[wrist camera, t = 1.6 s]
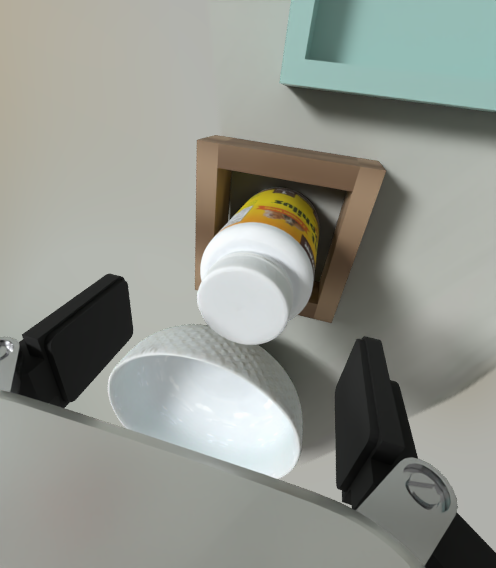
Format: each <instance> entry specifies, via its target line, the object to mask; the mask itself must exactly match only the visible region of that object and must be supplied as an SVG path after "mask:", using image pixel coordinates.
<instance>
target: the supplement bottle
mask: <svg viewBox="0 0 496 568" xmlns="http://www.w3.org/2000/svg"><path fill="white" fill-rule="evenodd" d="M319 230H320V228H319V219H318V215H317V213H316V211H315V209H314V207H313V205H312V204H311V203H310V202H309V200H308V199H307V198H305V197H304V196H303V195H301V194H300V193H298V192H296V191H294V190H291V189H288V188H282V187H274V188H269V189H265V190H263V191H260V192H259V193H257V194H255V195H254V196H252V197H251V198H250V199H249V200H248V201H247V202H246V203H245V204H244V206H243V207H242V208H241V209H240V210H239V211H238V212H237V213H236V214H235V215H234V216H233V217H232V218H231V219H230V220H229V222H228V223H227V224H226V225H225V226H224V227H223V228H222V229H221V230H220V231H219V232H218V233H217V234H216V235H215V237H214V238H213V239H212V240H211V241H210V243H209V244H208V246H207V247H206V249H205V251H204V253H203V256H202V260H201V266H200V275H201V281H202V282H201V284H200V286H199V289H198V293H197V304H198V308H199V310H200V313H201V315H202V317H203V319H204V320H205V322H206V323H207V324H208V326H209V327H210V328H211V329H212V330H214V331H215V332H216V333H217V334H219V335H220V336H222V337H224V338H226V339H227V340H230V341H233V342H236V343H240V344H246V345H257V344H263V343H267V342H269V341H271V340H273V339H275V338H276V337H277V336H279V335H280V334H281V333H282V331H283V330H284V329H285V327H286V325H287V323H288V321H289V320H291V319H293V318H294V317H295V316H297V315H298V314H299V313H300V312H301V311H302V310H303V309H304V307H305V306H306V304H307V302H308V301H309V298H310V296H311V293H312V288H313V283H314V274H315V265H316V257H317V249H318V240H319Z"/></svg>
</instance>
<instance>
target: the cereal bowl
mask: <svg viewBox="0 0 496 568" xmlns="http://www.w3.org/2000/svg"><path fill="white" fill-rule="evenodd" d="M108 395H109V399H110V403H111V406H112V408H113V410H114V412H115V414H116V416H117V417H118V419H119V420H120V422H121V423H122V425H123V426H124V427H125V428H126V429H129V430H132V431H135V432H138V433H142V434H145V435H148V436H151V437H154V438H157V439H160V440H163V441H166V442H169V443H172V444H175V445H178V446H181V447H184V448H187V449H190V450H193V451H196V452H199V453H202V454H205V455H208V456H211V457H214V458H217V459H220V460H223V461H226V462H229V463H232V464H235V465H238V466H241V467H244V468H247V469H250V470H253V471H256V472H259V473H262V474H265V475H268V476H270V477H273V478H276V479H280V478H282V477H284V476H285V475H287V474H288V473H289V472H290V471H291V470H292V469H293V468H294V467H295V466H296V464H297V462H298V460H299V457H300V454H301V451H302V448H301V446H302V435H303V429H302V426H303V420H302V411H301V405H300V402H299V397H298V395H297V392H296V389H295V387H294V385H293V382H292V381H291V380H290V378H289V376H288V374H287V373H286V372H285V370H284V369H283V367H282V366H280V364H279V363H278V362H277V361H276V360H275V359H274V358H273V357H272V356H271V355H270V354H269V353H268V352H267V351H266V350H264V349H263V348H262V347H260V346H259V345H258V344H257V345H246V344H240V343H236V342H233V341H230V340H227V339H226V338H224V337H222V336H220V335H219V334H217V333H216V332H215V331H214V330H212V329H211V328H210V327H209V326H208V325H201V324H196V325H195V324H192V325H191V324H189V325H181V326H175V327H170V328H167V329H165V330H161V331H159V332H156V333H154V334H152V335H150V336H148V337H147V338H146V339H144V340H142V341H141V342H140V343H139V344H137V345H136V346H135V347H134V348H133V349H131V350H130V351H129V352H128V353H127V354H126V355H125V356H124V357H123V358H122V360H121V361H120V362H119V363H118V364H117V365H116V366H115V368H114V369H113V370H112V372H111V374H110V377H109V380H108Z"/></svg>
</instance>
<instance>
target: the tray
mask: <svg viewBox="0 0 496 568" xmlns="http://www.w3.org/2000/svg"><path fill="white" fill-rule="evenodd" d="M280 83H281V84H283V85H286V86H292V87H300V88H308V89H315V90H323V91H331V92H339V93H347V94H355V95H362V96H370V97H378V98H386V99H394V100H401V101H409V102H417V103H425V104H433V105H440V106H448V107H456V108H464V109H472V110H480V111H487V112H495V113H496V0H291V5H290V12H289V19H288V26H287V33H286V41H285V48H284V55H283V62H282V69H281V76H280Z"/></svg>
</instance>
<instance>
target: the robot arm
mask: <svg viewBox="0 0 496 568" xmlns="http://www.w3.org/2000/svg"><path fill="white" fill-rule="evenodd" d="M132 334H133V325H132V316H131V308H130V300H129V291H128V284H127V282H126V281H125V280H124V278H123V277H121V276H117V275H113V274H107V275H105V276H104V277H102V278H101V279H100V280H98V281H97V282H95V283H94V284H92V285H91V286H90V287H88V288H87V289H85V290H84V291H83V292H81V293H80V294H78V295H77V296H76V297H74V298H73V299H71V300H70V301H69V302H67V303H66V304H65V305H63V306H62V307H60V308H59V309H57V310H56V311H55V312H53V313H52V314H50V315H49V316H48V317H46V318H45V319H43V320H42V321H41V322H39V323H38V324H36V325H35V326H34V327H32V328H31V329H30V330H28V331H27V332H25V333H24V334H22V336H23V340H22V341H20V342H18V341H17V340H16V339H14V338H11V337H0V568H496V553H495V552H494V551H493V550H492V549H491V548H490V547H489V545H487V543H486V542H485V541H484V540H483V539H482V538H481V537H480V536H479V535H478V534H477V533H476V532H475V531H474V530H473V529H472V528H471V527H470V526H469V525H468V524H467V523H466V521H465V520H464V519H463V518H462V517H461V516H460V515H459V514H458V513H457V508H458V506H457V498H456V495H455V493H454V490H453V488H452V487H451V485H450V484H449V482H448V480H447V479H446V478H445V477H444V476H443V475H442V474H441V473H440V472H439V470H437V469H436V468H435V467H433V466H432V465H431V464H429V463H427V462H425V461H423V460H421V459H418V457H417V453H416V449H415V445H414V441H413V437H412V433H411V429H410V426H409V422H408V418H407V414H406V410H405V406H404V402H403V398H402V394H401V390H400V387H399V384H398V383H397V382H395V381H391V380H390V378H389V374H388V369H387V365H386V360H385V356H384V351H383V347H382V343H381V341H380V340H378V339H374V338H369V337H365V336H364V337H363V338H362V340H361V339H357V340H356V342H355V344H354V346H353V349H352V351H351V353H350V356H349V358H348V360H347V363H346V365H345V367H344V370H343V372H342V374H341V377H340V379H339V381H338V384H337V386H336V390H335V433H336V484H337V488H338V489H340V490H342V502H344V503H347V504H350V505H352V508H349V507H348V506H346V505H344V504H342V503H340V502H337V501H335V500H332V499H330V498H328V497H325V496H322V495H320V494H318V493H315V492H313V491H310V490H307V489H304V488H301V487H299V486H296V485H293V484H290V483H287V482H285V481H282V480H279V479H276V478H273V477H270V476H268V475H265V474H262V473H259V472H256V471H253V470H250V469H247V468H244V467H241V466H238V465H235V464H232V463H229V462H226V461H223V460H220V459H217V458H214V457H211V456H208V455H205V454H202V453H199V452H196V451H193V450H190V449H187V448H184V447H181V446H178V445H175V444H172V443H169V442H166V441H163V440H160V439H157V438H154V437H151V436H148V435H145V434H142V433H138V432H135V431H132V430H129V429H126V428H123V427H120V426H117V425H114V424H111V423H108V422H105V421H102V420H99V419H95V418H92V417H89V416H86V415H83V414H80V413H77V412H74V411H71V410H68V409H65V407H66V406H67V405H68V403H69V402H73V401H75V400H76V399H77V398H78V396H79V395H80V394H81V393H82V392H83V391H84V390H85V389H86V388H87V386H88V385H89V384H90V383H91V382H92V381H93V380H94V379H95V378H96V376H97V375H98V374H99V373H100V372H101V371H102V370H103V369H104V367H105V366H106V365H107V364H108V363H109V362H110V361H111V360H112V359H113V357H114V356H115V355H116V354H117V353H118V352H119V351H120V349H121V348H122V347H123V346H124V345H125V344H126V343H127V342H128V341H129V339H130V338H131V337H132Z"/></svg>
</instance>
